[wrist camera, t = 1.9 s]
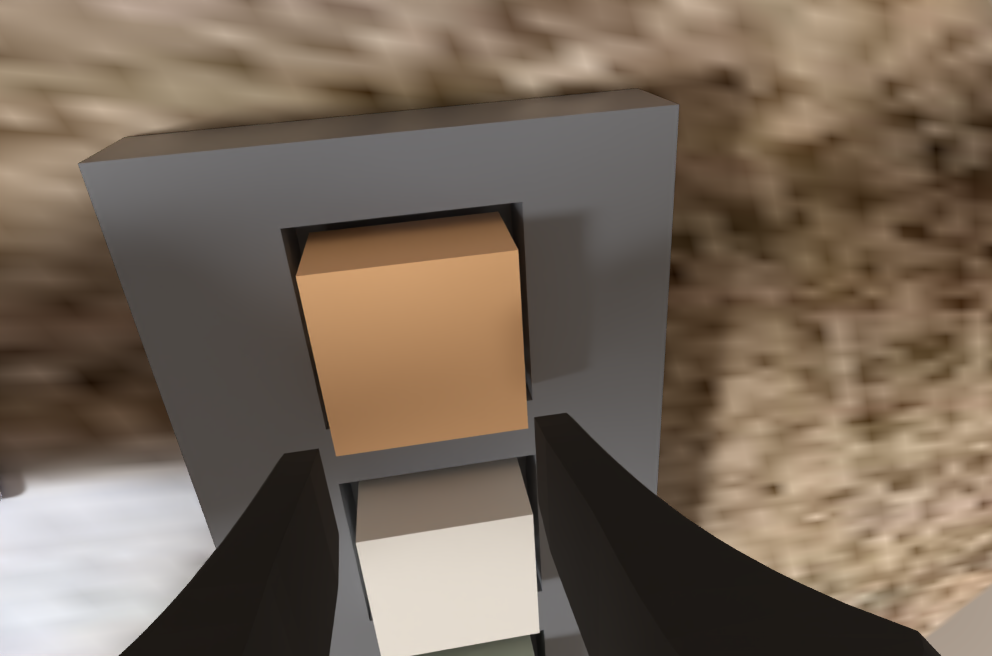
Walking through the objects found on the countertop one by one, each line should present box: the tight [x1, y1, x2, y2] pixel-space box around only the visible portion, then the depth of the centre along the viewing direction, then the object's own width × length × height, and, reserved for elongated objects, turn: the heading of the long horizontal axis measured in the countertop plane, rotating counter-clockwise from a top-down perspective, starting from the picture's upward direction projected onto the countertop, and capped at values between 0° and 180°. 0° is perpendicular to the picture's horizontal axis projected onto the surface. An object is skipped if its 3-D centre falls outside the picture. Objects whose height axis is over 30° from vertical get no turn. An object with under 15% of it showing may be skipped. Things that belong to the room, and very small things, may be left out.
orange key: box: [296, 212, 528, 456], centre depth 17 cm, size 5×5×3 cm
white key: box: [356, 457, 540, 656], centre depth 21 cm, size 5×5×3 cm
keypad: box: [78, 88, 679, 656], centre depth 23 cm, size 14×26×3 cm, turn 4°
